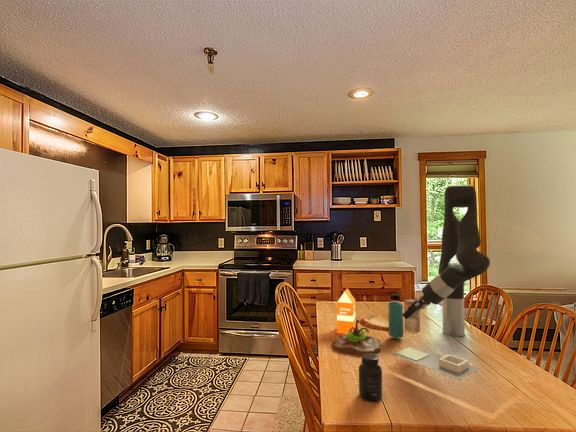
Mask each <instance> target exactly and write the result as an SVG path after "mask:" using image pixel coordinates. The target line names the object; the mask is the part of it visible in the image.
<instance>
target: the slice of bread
mask: <svg viewBox="0 0 576 432" xmlns="http://www.w3.org/2000/svg"><path fill="white" fill-rule="evenodd" d="M359 321H360V322H359V323H360V324H362V325H363V326H365V327H366V328H370V329H376V330H379V331H386V332H389V329H388V327H389V326H388V325H389V319H387V318H384V317H380V316H376V315H374V314H373V315H369V316H365V317H364V318H360V319H359Z"/></svg>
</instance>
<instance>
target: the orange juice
mask: <svg viewBox="0 0 576 432" xmlns="http://www.w3.org/2000/svg"><path fill="white" fill-rule="evenodd" d="M336 322H337V323H336V324H337V325H336V326H337V327H336V329H337V330H336V332H337V334H346V333H348V332H349V329H351V327H354V328H355V326H356V325H355V324H356V299H355V297H354V296H353V294H352V293H351V291H350V290H349V288H345V291H343V293H342V295H341V296H340V297H339V299H338V300H337V302H336ZM352 331H353V329H352Z"/></svg>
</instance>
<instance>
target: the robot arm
mask: <svg viewBox="0 0 576 432" xmlns="http://www.w3.org/2000/svg"><path fill="white" fill-rule="evenodd" d="M477 199H478V198H477V191H476V188H475V186H474V185H471V184H454V185H453V184H452V185H448V186H447V187H445V191H444V215H443V216H444V217H443V218H444V219H443V226H442V234H441V252H440V253H441V254H440V260H439V263H438V264H439V265H438V273H437V274H438V275H436V276H435V277H434V278H433V279H432V280H430V281H429V282H428V283H427V284H425V286H423V287H422V289H421V292H422V294H423V295H420V296H419V297H418V298H417V299H415V300H416V301H415V302H414V303H413V304H412V305H411V306H410V307H408V310H407V311H406V312H403V319H404V320H405V319H408V318H409V317H410V316H411V315H412V314H414V313H415V312H416V311H420V312H421V310H425V308H427V307H428V306H430V305H431V304H433V305H439V304H440V303H441V302H442V304H441V305H442V307H441V309H442V333H443V334H444V335H446V336H447V335H448V336H451V337H464V336H465V332H466V331H465V326H466V325H465V282H467V281H470V280H471V279H473V278H476V277H478V276H480V275H483V274H484V273H485V272H486V271H487V270H488V268H489V267H490V264H491V262H490V261H491V260H490V258H489V257H488V256H487V255H485V254H484V253H482V252H480V251H479V250H477V249H478V248H480V246H481V244H482V243H481V241H482V240H481V235H480V231H479V225H478V202H477V201H478V200H477ZM454 208H467V210H466V212H465V214H464V215H463V217H462V218H461V219H460V220H459V219H458V218H457V215H456V214H455V212H454ZM454 257H456V260H457V262H458V263H457V262H455V263H453V262H451V260H452V259H453V258H454ZM412 308H413V309H414V310H413V309H412ZM419 308H420V309H419Z"/></svg>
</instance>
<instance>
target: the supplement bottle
mask: <svg viewBox="0 0 576 432" xmlns="http://www.w3.org/2000/svg"><path fill="white" fill-rule="evenodd" d="M379 363H380V361H379V356H378V355H377V354H370V353H367V354H363V355H362V356H361V363H360V364H359V366H358V394H359V396H360V398H361V399H362V400H364V401H366V402H370V403H371V402H372V403H376V402H379V401H380V400H382V398H383V369H382V367H381V365H380V364H379Z"/></svg>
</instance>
